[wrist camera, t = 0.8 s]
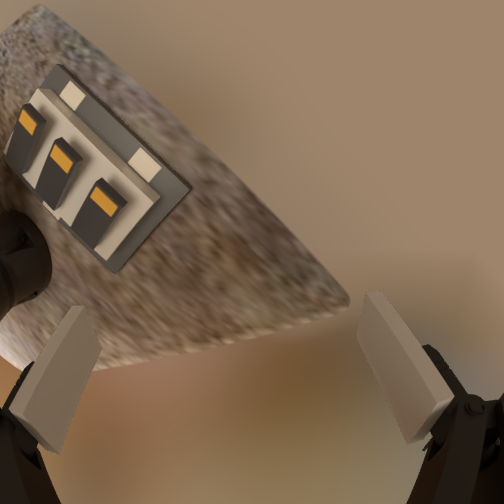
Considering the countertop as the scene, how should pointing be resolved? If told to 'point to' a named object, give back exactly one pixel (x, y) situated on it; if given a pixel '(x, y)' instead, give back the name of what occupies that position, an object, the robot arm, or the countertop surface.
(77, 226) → the rocker switch
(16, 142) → the rocker switch
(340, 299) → the countertop surface
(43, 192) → the rocker switch
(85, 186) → the switch unit
